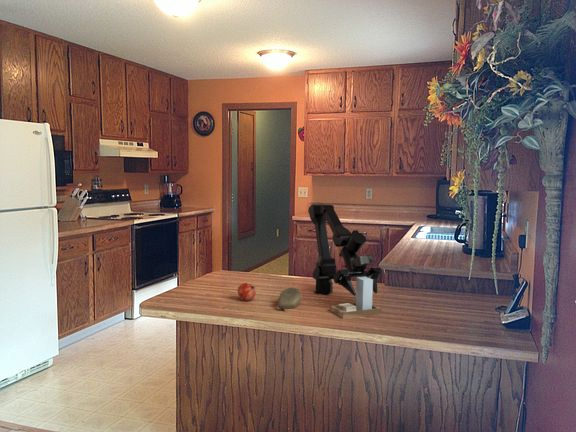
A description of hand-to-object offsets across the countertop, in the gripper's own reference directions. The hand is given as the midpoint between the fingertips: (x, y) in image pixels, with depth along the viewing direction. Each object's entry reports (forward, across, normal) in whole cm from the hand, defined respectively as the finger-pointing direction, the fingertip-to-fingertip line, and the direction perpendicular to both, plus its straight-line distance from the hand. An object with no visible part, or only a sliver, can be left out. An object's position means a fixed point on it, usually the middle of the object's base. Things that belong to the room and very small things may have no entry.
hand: (365, 294), depth 177 cm
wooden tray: (+5, -4, +6) cm, 9 cm away
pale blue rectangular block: (+4, 0, +6) cm, 7 cm away
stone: (-8, -22, +20) cm, 31 cm away
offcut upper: (+3, -7, +5) cm, 9 cm away
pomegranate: (-18, -36, +30) cm, 50 cm away
